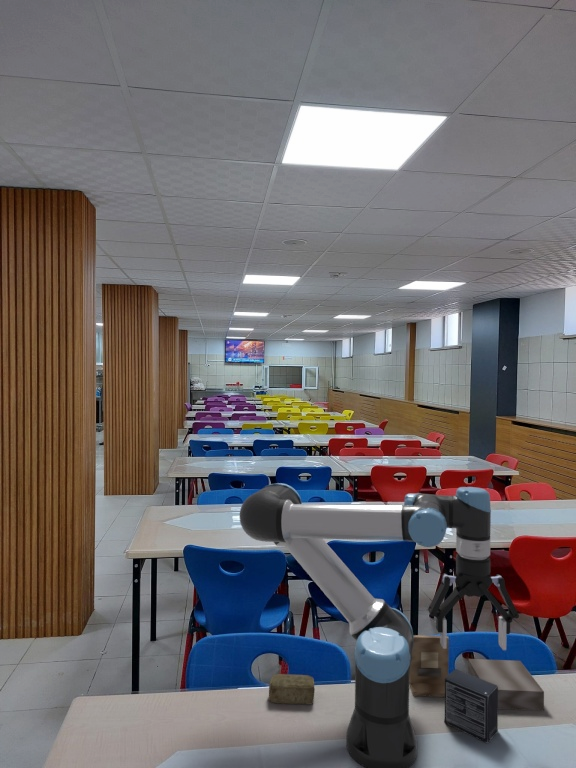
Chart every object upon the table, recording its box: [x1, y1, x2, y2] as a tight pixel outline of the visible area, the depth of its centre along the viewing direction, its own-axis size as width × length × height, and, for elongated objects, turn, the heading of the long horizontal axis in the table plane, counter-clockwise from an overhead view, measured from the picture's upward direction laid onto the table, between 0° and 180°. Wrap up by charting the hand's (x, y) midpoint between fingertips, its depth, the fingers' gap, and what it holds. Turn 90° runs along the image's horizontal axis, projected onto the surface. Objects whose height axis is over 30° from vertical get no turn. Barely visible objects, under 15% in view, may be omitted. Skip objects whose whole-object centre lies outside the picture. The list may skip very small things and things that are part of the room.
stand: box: [409, 634, 450, 698], centre depth 132 cm, size 10×6×13 cm, turn 88°
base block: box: [467, 658, 545, 711], centre depth 131 cm, size 14×14×5 cm
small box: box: [444, 668, 499, 744], centre depth 117 cm, size 11×6×10 cm, turn 47°
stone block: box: [268, 673, 315, 705], centre depth 127 cm, size 6×12×5 cm, turn 88°
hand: (472, 646), depth 117 cm, fingers open, 13 cm apart
